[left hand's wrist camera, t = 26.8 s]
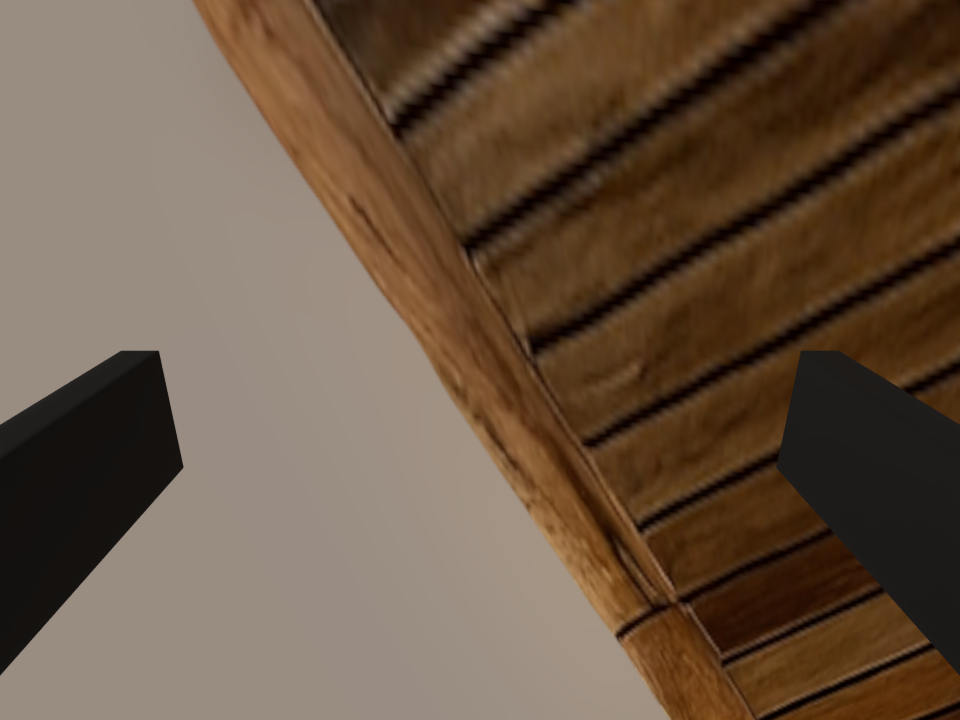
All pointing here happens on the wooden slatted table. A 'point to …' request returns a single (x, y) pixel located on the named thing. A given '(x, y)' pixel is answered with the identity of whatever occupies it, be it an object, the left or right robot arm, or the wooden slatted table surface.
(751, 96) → the wooden slatted table surface
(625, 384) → the wooden slatted table surface
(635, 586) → the wooden slatted table surface
